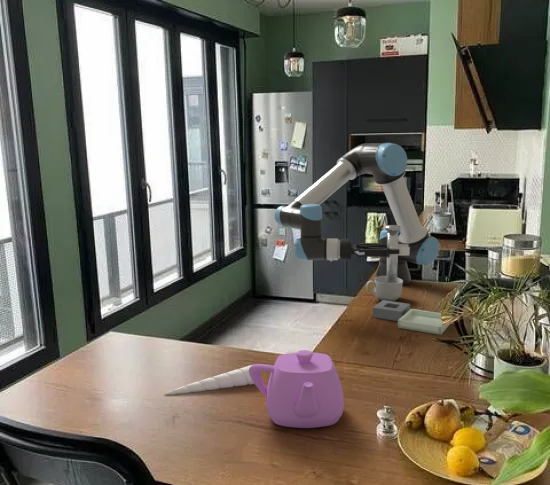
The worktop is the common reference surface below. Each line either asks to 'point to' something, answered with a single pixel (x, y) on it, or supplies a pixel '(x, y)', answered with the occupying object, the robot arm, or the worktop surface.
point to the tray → (422, 321)
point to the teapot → (301, 390)
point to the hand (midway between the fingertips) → (408, 249)
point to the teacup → (386, 288)
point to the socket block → (390, 310)
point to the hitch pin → (393, 259)
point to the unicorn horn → (217, 382)
